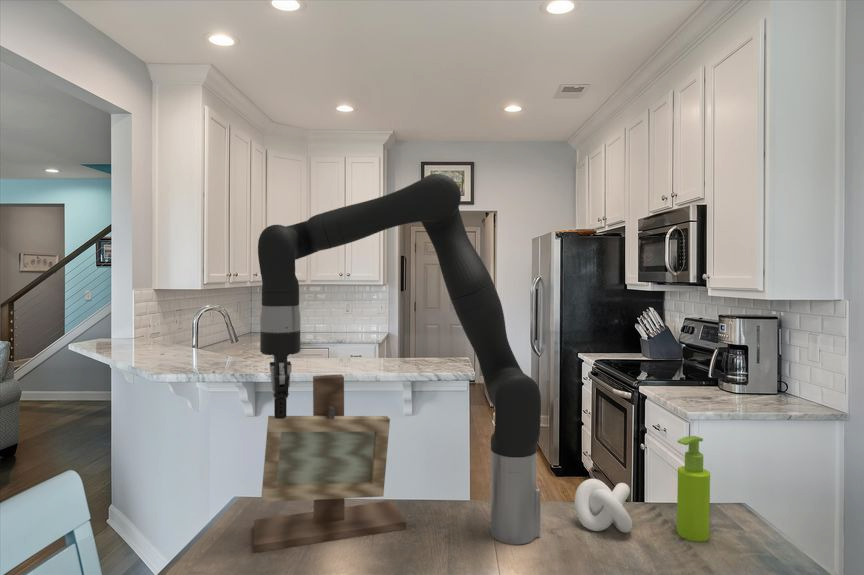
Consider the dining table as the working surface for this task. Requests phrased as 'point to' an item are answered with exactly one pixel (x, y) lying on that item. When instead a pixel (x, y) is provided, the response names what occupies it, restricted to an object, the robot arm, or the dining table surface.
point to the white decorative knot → (602, 506)
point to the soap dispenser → (693, 494)
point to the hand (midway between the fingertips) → (280, 417)
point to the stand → (328, 513)
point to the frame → (325, 457)
